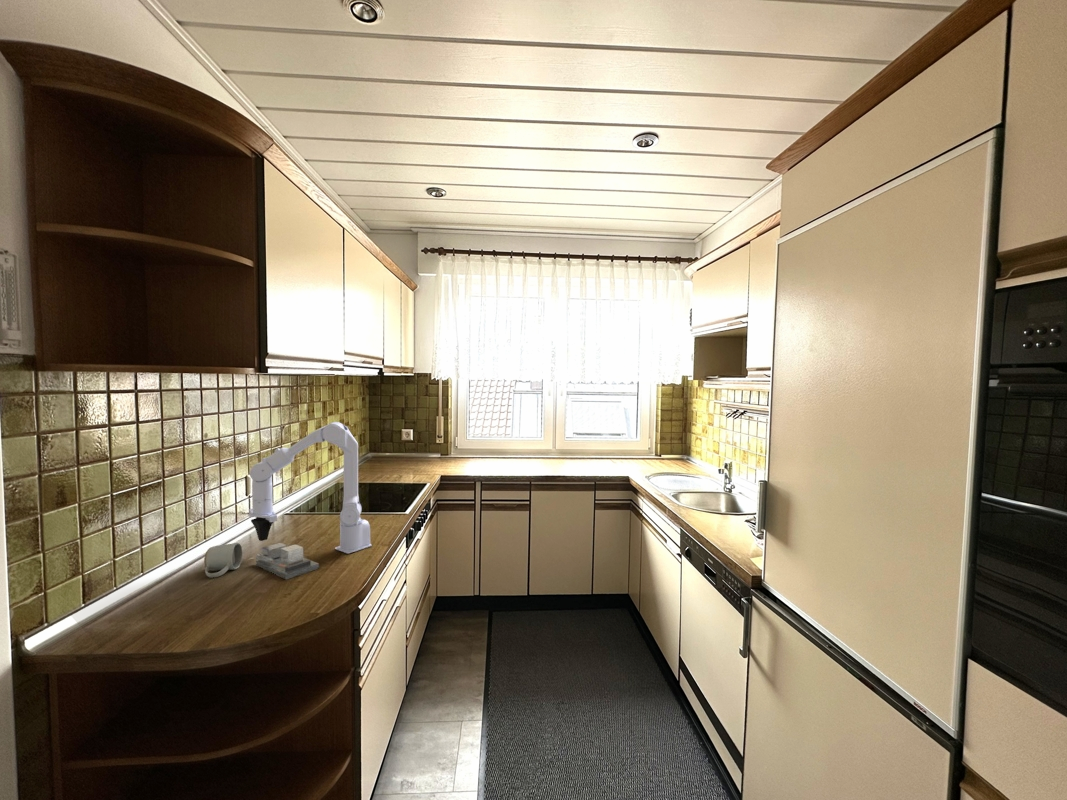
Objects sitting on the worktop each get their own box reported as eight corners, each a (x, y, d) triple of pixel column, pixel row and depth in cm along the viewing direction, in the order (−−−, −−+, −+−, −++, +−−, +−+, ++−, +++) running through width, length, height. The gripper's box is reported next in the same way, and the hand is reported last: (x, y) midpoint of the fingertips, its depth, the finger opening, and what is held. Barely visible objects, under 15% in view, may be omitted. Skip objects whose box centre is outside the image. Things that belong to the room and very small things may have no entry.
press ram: (280, 551, 152) (280, 542, 152) (287, 554, 150) (286, 545, 150) (261, 557, 147) (261, 548, 147) (267, 560, 145) (267, 550, 145)
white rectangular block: (303, 563, 143) (303, 547, 143) (288, 568, 139) (288, 551, 139) (295, 560, 145) (295, 544, 145) (281, 564, 142) (280, 548, 141)
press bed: (286, 554, 154) (286, 546, 154) (318, 568, 143) (318, 558, 143) (254, 564, 146) (253, 555, 146) (286, 579, 135) (286, 569, 135)
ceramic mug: (214, 565, 145) (213, 541, 145) (243, 563, 147) (242, 539, 146) (197, 580, 135) (196, 554, 134) (228, 577, 137) (227, 552, 136)
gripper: (239, 498, 153) (239, 538, 153) (260, 504, 144) (261, 547, 145) (261, 493, 158) (262, 533, 159) (283, 500, 150) (283, 541, 151)
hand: (263, 539), depth 152 cm, fingers closed
